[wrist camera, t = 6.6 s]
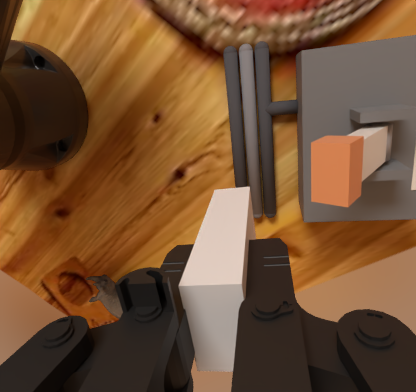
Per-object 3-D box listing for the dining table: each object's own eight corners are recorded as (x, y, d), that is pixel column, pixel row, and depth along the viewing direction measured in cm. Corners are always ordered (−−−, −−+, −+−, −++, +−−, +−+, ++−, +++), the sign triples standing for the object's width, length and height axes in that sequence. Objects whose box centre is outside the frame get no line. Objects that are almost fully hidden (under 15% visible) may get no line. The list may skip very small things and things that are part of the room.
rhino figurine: (103, 255, 46) (80, 279, 40) (182, 305, 46) (170, 336, 41) (92, 274, 47) (69, 300, 42) (169, 322, 48) (156, 354, 42)
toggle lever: (365, 161, 29) (311, 201, 21) (368, 116, 27) (310, 142, 20) (395, 162, 27) (347, 207, 20) (399, 115, 26) (350, 143, 18)
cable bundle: (238, 216, 39) (237, 220, 38) (224, 47, 33) (222, 46, 32) (305, 213, 38) (306, 218, 36) (302, 36, 31) (304, 34, 30)
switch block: (298, 201, 37) (307, 238, 29) (295, 55, 32) (305, 46, 23) (410, 196, 35) (457, 235, 26) (427, 37, 30) (493, 20, 21)
